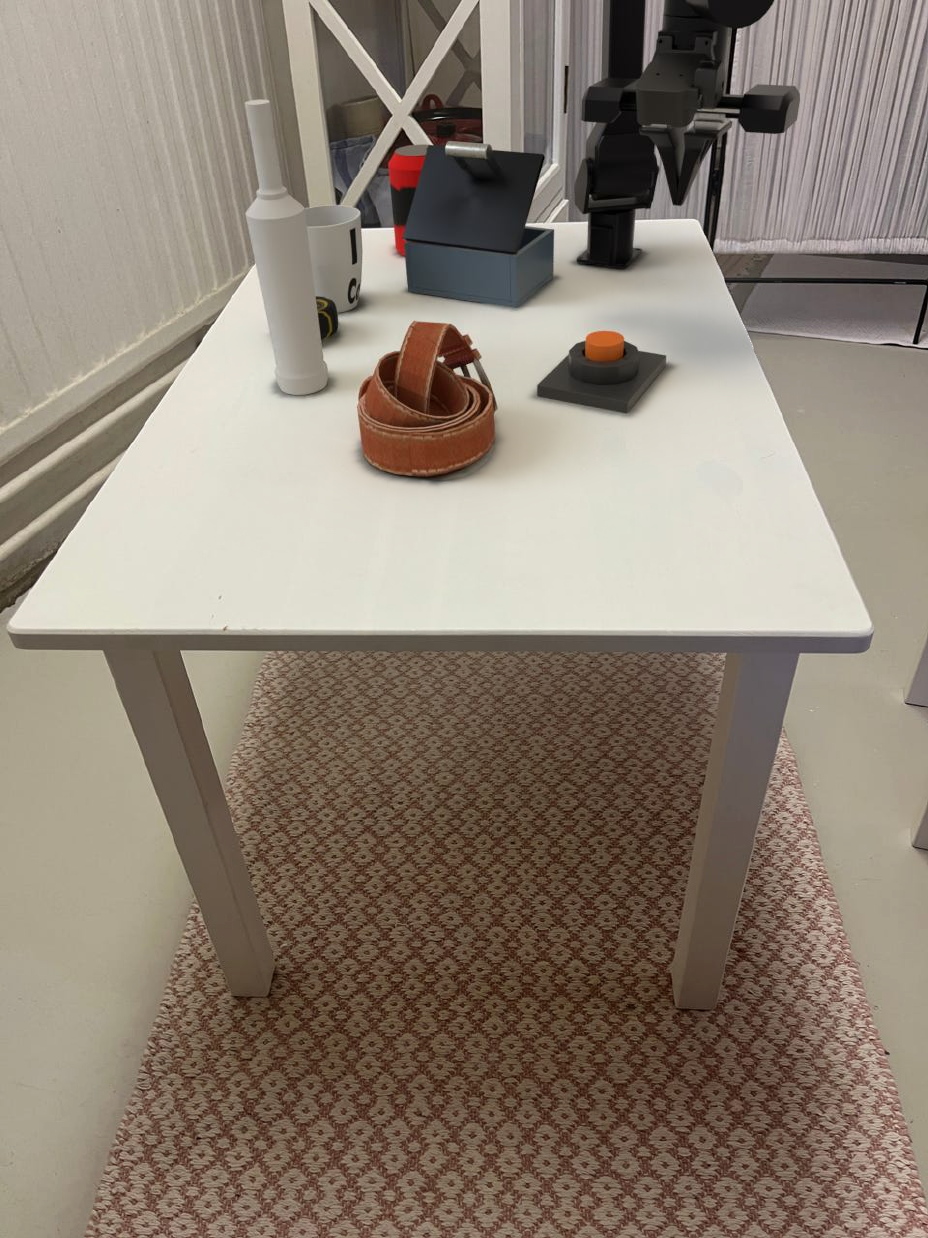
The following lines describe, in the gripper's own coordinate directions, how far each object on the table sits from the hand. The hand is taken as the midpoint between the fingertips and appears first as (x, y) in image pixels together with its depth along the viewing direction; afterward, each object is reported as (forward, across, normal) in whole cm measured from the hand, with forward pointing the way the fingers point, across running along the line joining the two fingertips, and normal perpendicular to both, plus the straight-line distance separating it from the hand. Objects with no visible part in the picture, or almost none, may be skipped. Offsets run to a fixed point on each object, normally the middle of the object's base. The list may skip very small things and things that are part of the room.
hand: (678, 204), depth 89 cm
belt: (+13, -12, -30) cm, 35 cm away
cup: (+13, -38, -6) cm, 41 cm away
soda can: (+13, -38, +15) cm, 43 cm away
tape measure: (+13, -36, -15) cm, 41 cm away
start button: (+10, -2, -13) cm, 17 cm away
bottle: (+13, -29, -25) cm, 40 cm away
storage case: (+13, -25, +6) cm, 29 cm away
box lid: (+3, -25, +5) cm, 26 cm away
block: (+13, -2, -13) cm, 18 cm away
